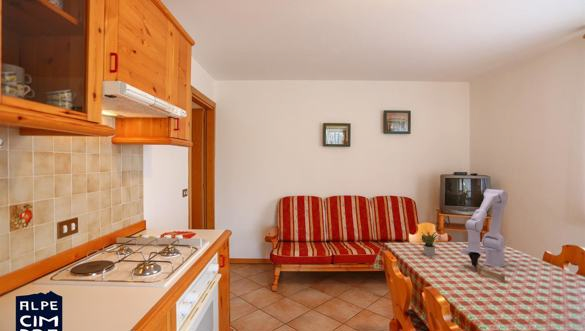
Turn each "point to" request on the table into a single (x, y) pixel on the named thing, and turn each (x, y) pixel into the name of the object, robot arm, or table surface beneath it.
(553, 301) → the table surface
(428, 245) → the house plant
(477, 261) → the fence panel
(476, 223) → the robot arm
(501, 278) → the fence fixed
